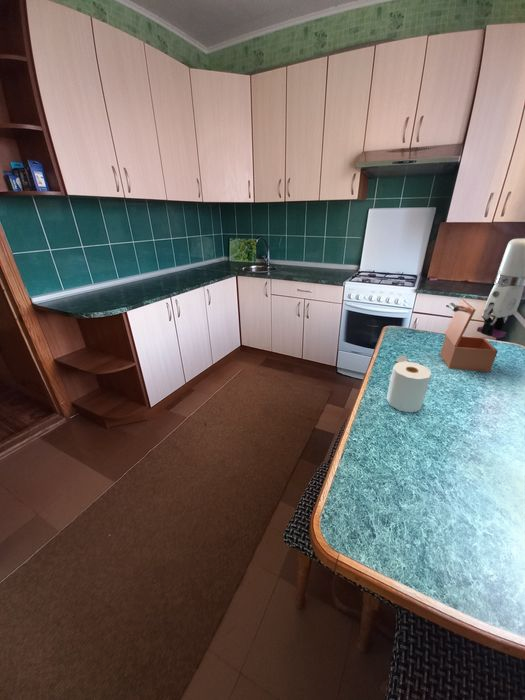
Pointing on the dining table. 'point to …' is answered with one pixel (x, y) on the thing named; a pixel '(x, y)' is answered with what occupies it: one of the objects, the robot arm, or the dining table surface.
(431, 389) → the dining table surface
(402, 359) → the spoon
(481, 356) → the brown box body
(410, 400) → the toilet paper
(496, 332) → the chocolate bar
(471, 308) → the brown box lid
